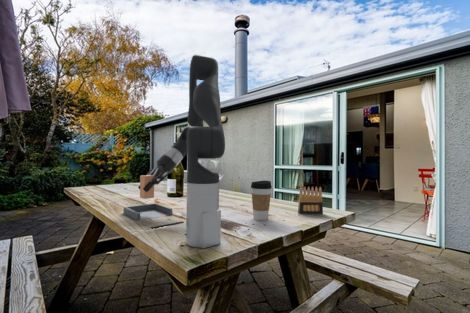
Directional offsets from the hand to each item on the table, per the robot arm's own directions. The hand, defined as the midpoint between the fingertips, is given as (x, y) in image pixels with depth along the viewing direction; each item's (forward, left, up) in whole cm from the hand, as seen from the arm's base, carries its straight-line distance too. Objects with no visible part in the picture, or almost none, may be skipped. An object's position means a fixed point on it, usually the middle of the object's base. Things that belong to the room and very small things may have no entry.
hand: (142, 189), depth 100 cm
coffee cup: (-32, -35, -11) cm, 49 cm away
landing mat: (-14, -2, -11) cm, 18 cm away
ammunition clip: (-40, -59, -11) cm, 73 cm away
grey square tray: (-1, -2, -11) cm, 11 cm away
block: (0, -2, -3) cm, 4 cm away
